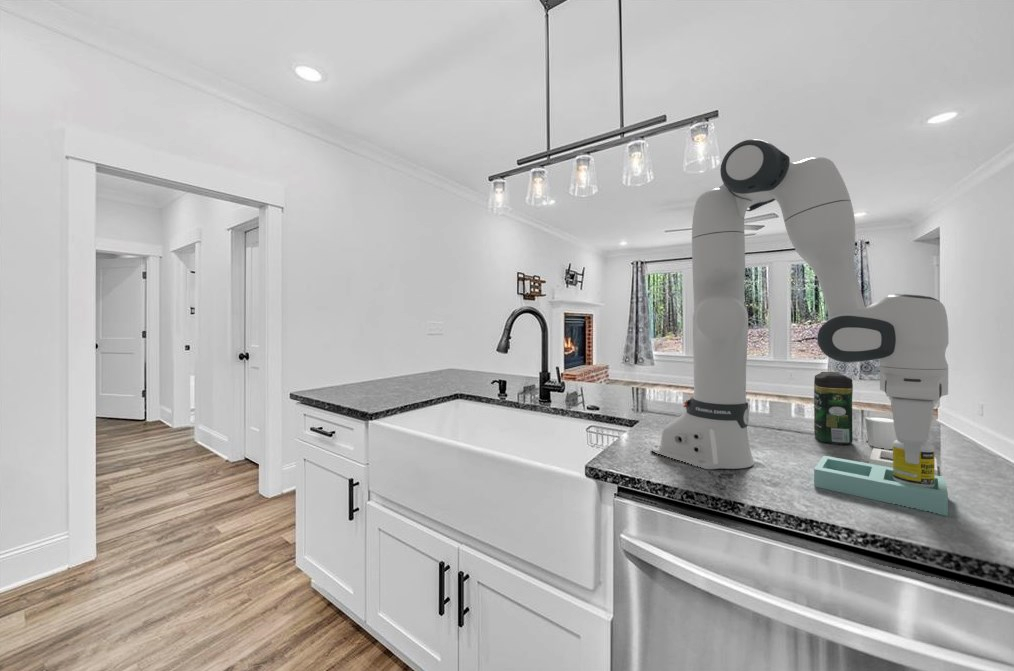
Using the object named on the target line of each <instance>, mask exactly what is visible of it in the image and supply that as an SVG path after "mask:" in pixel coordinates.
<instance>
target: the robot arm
mask: <svg viewBox="0 0 1014 671" xmlns="http://www.w3.org/2000/svg"><path fill="white" fill-rule="evenodd" d="M719 170H720V179H721V180H722V183H723V184H721V186H719V187H716V188H712V189H709V190H707V191H705V192H703V193H702V194H700V195H699V197H698V198H697V199H696V201H695V205H694V211H693V215H692V225H691V257H692V260H691V261H692V262H691V263H692V287H693V288H692V289H693V291H692V292H693V314H692V315H693V316H692V347H693V348H692V350H693V354H692V355H693V396H692V397H690V398H689V399H688V400H686V401H685V402H683V404H684V405H683V407H684V408H685V412H684V413H683V414H682V415H680V416H678V417H676V418H674V420H672V421H671V422H669V423H667V424H666V425H665V426H664V427H663V430H662V432H661V438H660V440H659V441H657V442H655V443H654V444H652V446H651V452H652V451H654V452H657V453H659V454H662V455H664V456H667V457H666V458H668V457H670V458H669V459H671V458H673V459H672V460H674V459H677V460H680V461H679V462H681V461H683V462H682V463H684V462H686V463H685V464H687V463H689V464H688V465H691V464H692V466H694V467H697V466H698V467H697V468H700V467H701V469H705V470H717V469H718V470H719V469H728V470H730V469H731V470H733V469H734V470H735V469H737V470H738V469H739V470H740V469H746V468H750V467H753V466H754V465H755V461H754V458H753V455H752V450H751V447H750V440H749V434H748V433H749V432H748V426H749V423H750V413H749V412H750V409H749V402H748V401H747V359H748V358H747V357H748V340H749V339H748V338H749V313H748V310H747V308H746V306H745V280H746V278H745V275H746V246H745V245H746V244H745V243H746V242H745V215H746V212H752V211H754V210H757V209H759V208H761V207H763V206H765V205H767V204H770V203H773V202H775V201H776V202H777V203H778V206H779V207H780V210H781V213H782V218H783V221H784V225H785V226H784V227H785V229H786V230H785V231H786V233H787V235H788V238H789V240H790V243H791V244H792V246H793V248H794V250H795V251H796V253H797V254H798V255H799V257H801V258H802V259H803V261H805V263H807V265H808V266H809V267H810V268H811V269H812V271H813V272H814V274H815V276H816V278H817V280H818V283H819V285H820V286H819V287H820V289H821V292H822V293H821V294H822V297H823V300H824V303H825V307H826V310H827V320H826V322H824V323H823V325H822V326H821V327H820V328H819V330H818V333H817V338H816V339H817V345H818V347H819V349H820V350H821V352H823V354H824V355H826V356H827V357H828V358H830V359H832V360H834V361H837V362H839V363H846V364H857V363H861V362H864V361H875V360H876V361H878V362H879V390H880V391H882V392H884V393H885V395H886V397H888V399H889V400H890V404H891V411H892V419H893V421H894V428H895V433H896V438H897V440H898V441H899V442H901V443H904V450H905V461H906V462H907V463H912V464H919V454H920V447H921V445H923V446H924V445H926V444H927V443H929V440H928V438H929V439H930V433H931V426H932V421H933V415H934V410H935V409H934V408H935V405H936V404H938V403H939V402H938V401H940V399H941V398H942V397H944V396H947V395H948V394H949V364H948V362H947V359H946V351H947V348H948V346H949V343H950V342H949V321H948V320H949V319H948V316H947V310H946V307H945V305H944V303H943V302H941V301H940V300H938V299H936V298H934V297H931V296H929V295H928V296H927V295H926V296H925V295H918V294H906V293H905V294H904V293H903V294H902V293H891V294H888V295H886V296H885V297H883V298H882V299H880V300H877V301H875V302H874V303H871V304H869V305H867V306H866V304H865V301H864V297H863V295H862V294H863V292H862V291H861V290H862V289H861V287H860V283H859V280H858V277H857V272H856V266H855V252H856V251H855V250H856V249H855V248H856V221H855V220H856V219H855V213H854V208H853V204H852V200H851V197H850V193H849V191H848V188H847V186H846V183H845V181H844V178H843V177H842V174H841V172H840V171H839V169H838V168H837V166H836V165H835V163H834V161H832V160H831V159H830V158H827V157H821V156H815V157H810V158H805V159H802V160H800V161H797V162H791V158H790V157H789V155H787V154H786V153H785V152H783V151H782V150H781V149H779V148H777V146H775V145H774V144H772V143H770V142H769V141H765V140H762V139H756V138H755V139H746V140H743V141H741V142H739V143H737V144H735V145H734V146H732V147H731V148H730V149H729V150H728V151H727V152H726V154H725V155H724V157H723V159H722V161H721V163H720V169H719ZM664 456H663V457H664ZM677 460H676V461H677Z"/></svg>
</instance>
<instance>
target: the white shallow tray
mask: <svg viewBox="0 0 1014 671" xmlns="http://www.w3.org/2000/svg"><path fill="white" fill-rule="evenodd" d="M872 448H873V449H872V451H871V454H870V456H869V462H868V463H869V464H874V465H880V466H886V467H891V468H893V450H889V449H881V448H876V447H872ZM883 458H884V459H883ZM937 464H938V463H937V457H935V475H937V476H938V465H937Z"/></svg>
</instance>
